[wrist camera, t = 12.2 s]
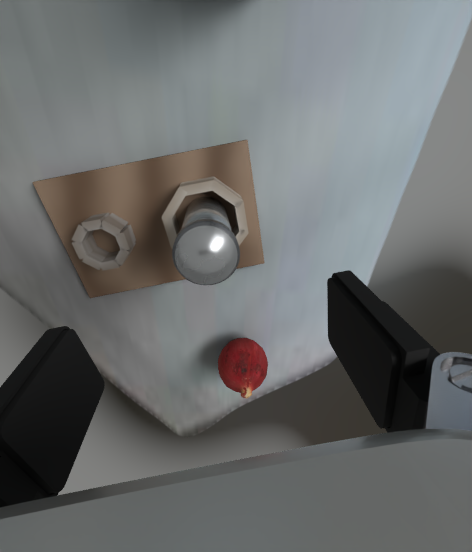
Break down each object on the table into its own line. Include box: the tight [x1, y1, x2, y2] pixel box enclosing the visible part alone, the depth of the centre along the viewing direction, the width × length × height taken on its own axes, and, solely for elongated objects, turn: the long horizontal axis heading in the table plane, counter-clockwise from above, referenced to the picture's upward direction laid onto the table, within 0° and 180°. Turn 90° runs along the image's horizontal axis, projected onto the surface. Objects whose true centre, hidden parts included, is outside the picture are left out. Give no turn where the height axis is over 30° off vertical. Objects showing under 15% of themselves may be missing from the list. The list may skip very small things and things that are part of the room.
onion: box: [218, 338, 268, 398], centre depth 31 cm, size 6×6×8 cm
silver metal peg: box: [172, 197, 240, 285], centre depth 22 cm, size 4×4×10 cm
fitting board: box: [32, 140, 264, 298], centre depth 26 cm, size 19×12×4 cm, turn 100°
